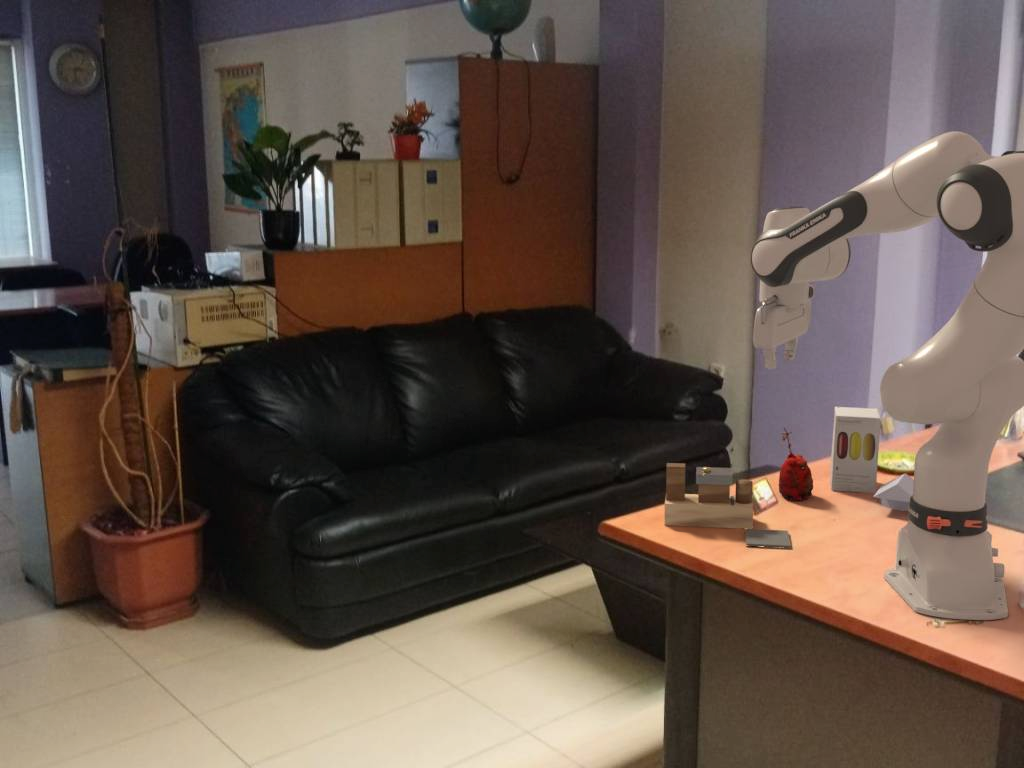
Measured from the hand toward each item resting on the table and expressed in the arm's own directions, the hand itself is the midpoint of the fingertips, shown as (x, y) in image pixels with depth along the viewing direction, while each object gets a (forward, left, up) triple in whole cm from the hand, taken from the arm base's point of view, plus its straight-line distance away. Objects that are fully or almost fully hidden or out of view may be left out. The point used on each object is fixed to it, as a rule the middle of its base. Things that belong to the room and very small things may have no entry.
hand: (780, 363), depth 197 cm
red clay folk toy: (+16, -5, -32) cm, 36 cm away
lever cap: (-2, +12, -23) cm, 26 cm away
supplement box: (+25, -18, -32) cm, 44 cm away
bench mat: (-11, +2, -32) cm, 34 cm away
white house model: (+12, -26, -32) cm, 43 cm away
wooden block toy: (-2, +13, -32) cm, 34 cm away
